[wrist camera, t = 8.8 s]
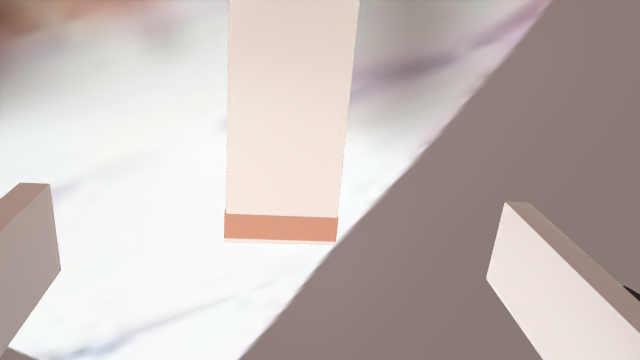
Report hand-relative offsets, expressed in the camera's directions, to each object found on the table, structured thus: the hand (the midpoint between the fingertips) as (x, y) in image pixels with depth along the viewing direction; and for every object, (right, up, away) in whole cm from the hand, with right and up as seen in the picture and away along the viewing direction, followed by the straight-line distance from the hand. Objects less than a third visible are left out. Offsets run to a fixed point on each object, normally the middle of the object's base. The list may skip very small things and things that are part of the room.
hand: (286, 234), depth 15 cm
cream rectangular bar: (0, +7, +8) cm, 11 cm away
